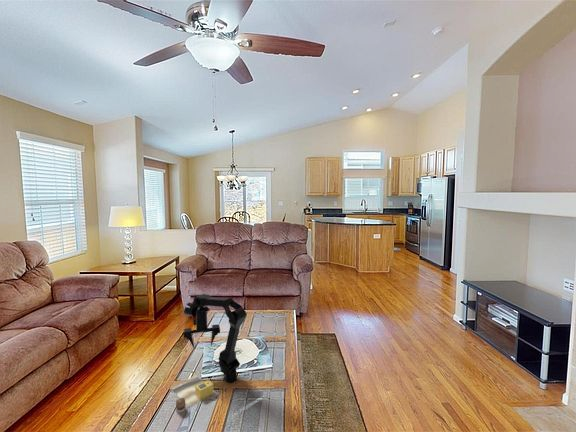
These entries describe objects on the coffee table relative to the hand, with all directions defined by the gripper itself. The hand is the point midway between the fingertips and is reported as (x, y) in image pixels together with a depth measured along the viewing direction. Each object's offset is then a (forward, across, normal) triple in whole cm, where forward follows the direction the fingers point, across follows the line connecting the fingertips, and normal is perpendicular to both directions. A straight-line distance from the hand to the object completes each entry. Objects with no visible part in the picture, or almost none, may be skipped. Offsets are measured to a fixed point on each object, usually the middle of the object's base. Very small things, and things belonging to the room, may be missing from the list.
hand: (202, 346), depth 169 cm
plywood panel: (+13, +6, +18) cm, 23 cm away
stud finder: (+13, 0, +22) cm, 26 cm away
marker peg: (+14, +11, +30) cm, 35 cm away
